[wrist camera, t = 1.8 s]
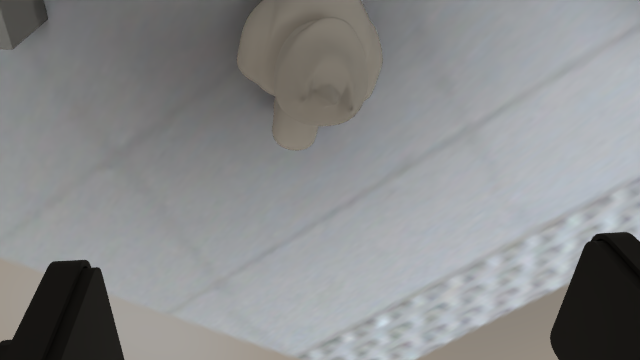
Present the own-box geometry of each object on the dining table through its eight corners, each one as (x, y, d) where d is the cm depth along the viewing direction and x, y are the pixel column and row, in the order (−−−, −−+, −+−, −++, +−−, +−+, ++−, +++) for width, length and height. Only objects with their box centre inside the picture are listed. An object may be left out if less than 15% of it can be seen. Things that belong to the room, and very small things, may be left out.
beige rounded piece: (390, -21, 21) (455, 46, 14) (342, 124, 24) (376, 233, 17) (257, -58, 19) (257, -5, 13) (226, 100, 23) (214, 207, 16)
